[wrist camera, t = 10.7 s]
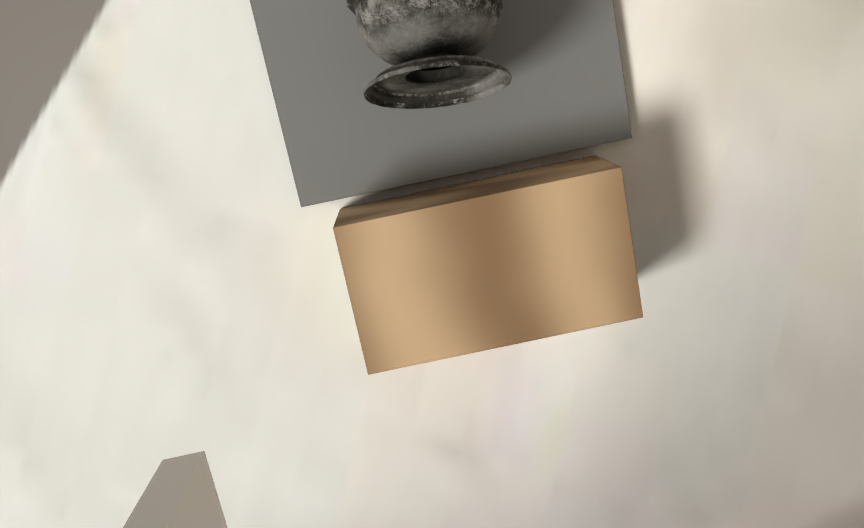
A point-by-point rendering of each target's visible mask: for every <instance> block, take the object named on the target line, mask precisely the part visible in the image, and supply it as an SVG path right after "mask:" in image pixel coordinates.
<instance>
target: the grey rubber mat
mask: <svg viewBox="0 0 864 528" xmlns="http://www.w3.org/2000/svg"><path fill="white" fill-rule="evenodd" d="M250 3H251V7H252V11H253V15H254V19H255V23H256V27H257V31H258V35H259V39H260V43H261V47H262V51H263V55H264V59H265V63H266V67H267V72H268V76H269V80H270V84H271V88H272V92H273V96H274V100H275V104H276V108H277V112H278V116H279V120H280V124H281V128H282V132H283V136H284V140H285V144H286V148H287V152H288V156H289V160H290V164H291V168H292V172H293V176H294V180H295V184H296V188H297V192H298V196H299V200H300V204H301V207H304V206H309V205H314V204H319V203H323V202H328V201H333V200H338V199H342V198H347V197H352V196H357V195H361V194H366V193H371V192H376V191H380V190H385V189H390V188H395V187H399V186H404V185H409V184H414V183H418V182H423V181H428V180H433V179H438V178H442V177H447V176H452V175H457V174H461V173H466V172H471V171H476V170H480V169H485V168H490V167H495V166H499V165H504V164H509V163H514V162H518V161H523V160H528V159H533V158H537V157H542V156H547V155H552V154H556V153H561V152H566V151H571V150H576V149H580V148H585V147H590V146H595V145H599V144H604V143H609V142H614V141H618V140H623V139H628V138H632V135H631V128H630V120H629V113H628V106H627V99H626V92H625V85H624V78H623V71H622V64H621V57H620V50H619V42H618V35H617V28H616V21H615V14H614V7H613V0H502V4H503V8H502V12H501V16H500V19H499V23H498V27H497V31H496V34H495V35H494V37H493V38H492V39H491V41H490V42H489V43H488V45H487V46H486V47H485V49H484V50H483V51H482V52H481V53H479V54H477V55H476V56H478V57H482V58H487V59H489V60H491V61H493V62H495V63H496V64H499V65H501V66H503V67H504V68H506V69H508V70H509V72H510V74H511V76H512V80H511V82H510V84H509V85H508V86H507V87H506V88H504V89H503V90H501V91H499V92H497V93H495V94H493V95H491V96H488V97H485V98H482V99H479V100H475V101H471V102H467V103H463V104H457V105H451V106H445V107H436V108H425V109H397V108H388V107H381V106H378V105H375V104H371V103H370V102H368V101H367V100H365V97H364V93H363V90H364V89H365V87H366V85H367V84H368V83H369V82H370V81H372V80H373V79H375V78H376V77H377V76H378V74H380V73H381V72H383V71H384V70H386V69H388V68H390V67H392V66H394V65H391V64H388V63H386V62H385V61H384V60H382V59H381V58H380V57H379V56H378V55H376V54H375V53H374V52H373V51H372V50H371V49H370V48H368V46H367V44H366V42H365V41H364V39H363V37H362V35H361V33H360V31H359V29H358V26H357V20H356V15H355V14H354V13H353V12H352V11H351V10H350V9H349V8H348V7H347V5H346V0H250Z"/></svg>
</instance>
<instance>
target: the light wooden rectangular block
mask: <svg viewBox="0 0 864 528" xmlns="http://www.w3.org/2000/svg"><path fill="white" fill-rule="evenodd" d="M333 230H334V234H335V238H336V242H337V246H338V251H339V255H340V259H341V263H342V267H343V271H344V276H345V280H346V284H347V288H348V292H349V296H350V301H351V305H352V309H353V313H354V317H355V321H356V326H357V330H358V334H359V338H360V342H361V347H362V351H363V355H364V359H365V363H366V367H367V372H368V375H369V374H374V373H379V372H384V371H388V370H393V369H398V368H403V367H407V366H412V365H417V364H422V363H427V362H431V361H436V360H441V359H446V358H451V357H455V356H460V355H465V354H470V353H474V352H479V351H484V350H489V349H494V348H498V347H503V346H508V345H513V344H518V343H522V342H527V341H532V340H537V339H542V338H546V337H551V336H556V335H561V334H565V333H570V332H575V331H580V330H585V329H589V328H594V327H599V326H604V325H609V324H613V323H618V322H623V321H628V320H632V319H637V318H642V317H643V313H642V306H641V299H640V292H639V285H638V279H637V272H636V265H635V258H634V251H633V244H632V237H631V231H630V224H629V217H628V210H627V203H626V196H625V189H624V182H623V176H622V169H621V167H619V166H617V165H615V164H613V163H611V162H608V161H606V160H604V159H602V158H599V157H597V156H591V157H587V158H582V159H577V160H572V161H567V162H563V163H558V164H553V165H548V166H544V167H539V168H534V169H529V170H525V171H520V172H515V173H510V174H506V175H501V176H496V177H491V178H487V179H482V180H477V181H472V182H467V183H463V184H458V185H453V186H448V187H444V188H439V189H434V190H429V191H425V192H420V193H415V194H410V195H406V196H401V197H396V198H391V199H387V200H382V201H377V202H372V203H368V204H363V205H358V206H353V207H348V208H344V209H340V211H339V213H338V216H337V219H336V221H335V224H334V227H333Z"/></svg>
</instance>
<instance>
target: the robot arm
mask: <svg viewBox="0 0 864 528" xmlns="http://www.w3.org/2000/svg"><path fill="white" fill-rule="evenodd" d="M123 528H227V525H226V521H225V518H224V515H223V511H222V508H221V505H220V501H219V498H218V495H217V492H216V488H215V485H214V482H213V478H212V475H211V472H210V468H209V465H208V462H207V459H206V455H205V452H204V451H202V452H198V453H193V454H189V455H184V456H179V457H175V458H170V459H165V460H162V462H161V464H160V466H159V467H158V469H157V471H156V472H155V474H154V476H153V477H152V479H151V481H150V483H149V484H148V486H147V488H146V489H145V491H144V493H143V495H142V496H141V498H140V500H139V501H138V503H137V505H136V506H135V508H134V510H133V512H132V513H131V515H130V517H129V518H128V520H127V522H126V524H125V525H124V527H123Z"/></svg>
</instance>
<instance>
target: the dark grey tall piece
mask: <svg viewBox="0 0 864 528" xmlns="http://www.w3.org/2000/svg"><path fill="white" fill-rule="evenodd" d="M346 5H347V7H348V8H349V9H350V10H351V11H352V12H353V13H354V14H355V15H356V20H357V26H358V29H359V31H360V33H361V35H362V37H363V39H364V41H365V42H366V44H367V46H368V48H370V49H371V50H372V51H373V52H374V53H375V54H376V55H378V56H379V57H380V58H381V59H382V60H384V61H385V62H386V63H388V64H391V65H394V66H392V67H390V68H388V69H386V70H384V71H383V72H381V73H380V74H378V76H377V77H376V78H375V79H373V80H372V81H370V82H369V83H368V84H367V85H366V87H365V89H364V90H363V93H364V97H365V100H367V101H368V102H370V103H371V104H375V105H378V106H381V107H388V108H397V109H425V108H436V107H445V106H451V105H457V104H463V103H467V102H471V101H475V100H479V99H482V98H485V97H488V96H491V95H493V94H495V93H497V92H499V91H501V90H503V89H504V88H506V87H507V86H508V85H509V84H510V82H511V80H512V76H511V74H510V72H509V70H508V69H506V68H504V67H503V66H501V65H499V64H496V63H495V62H493V61H491V60H489V59H487V58H482V57H478V56H476V55H477V54H479V53H481V52H482V51H483V50H484V49H485V47H486V46H487V45H488V43H489V42H490V41H491V39H492V38H493V37H494V35H495V34H496V31H497V27H498V23H499V19H500V16H501V12H502V8H503V4H502V0H346Z"/></svg>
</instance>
